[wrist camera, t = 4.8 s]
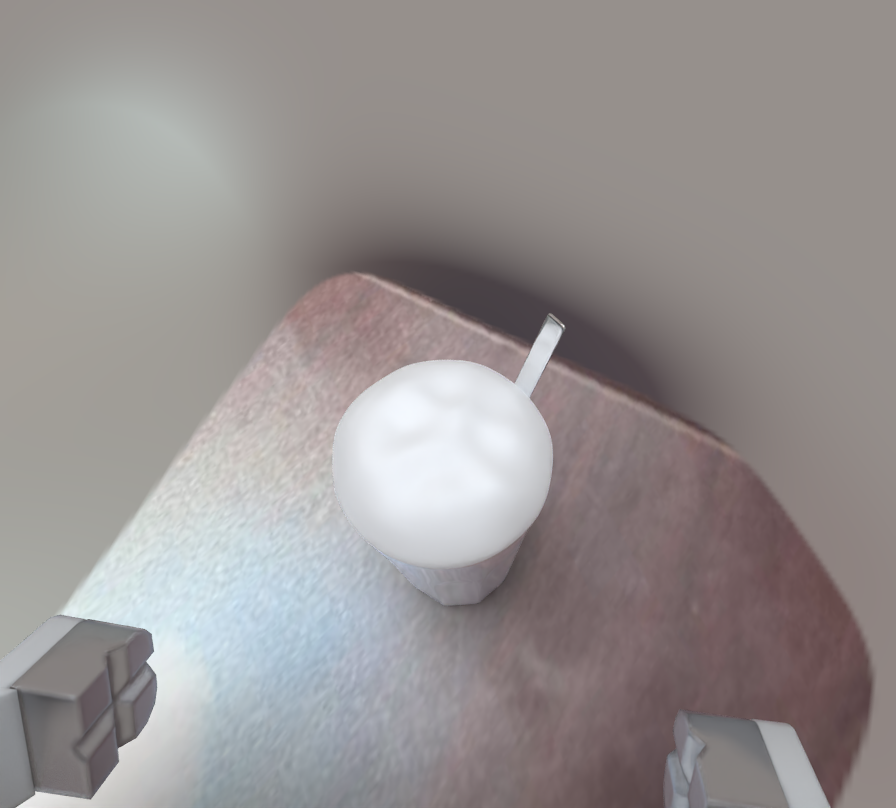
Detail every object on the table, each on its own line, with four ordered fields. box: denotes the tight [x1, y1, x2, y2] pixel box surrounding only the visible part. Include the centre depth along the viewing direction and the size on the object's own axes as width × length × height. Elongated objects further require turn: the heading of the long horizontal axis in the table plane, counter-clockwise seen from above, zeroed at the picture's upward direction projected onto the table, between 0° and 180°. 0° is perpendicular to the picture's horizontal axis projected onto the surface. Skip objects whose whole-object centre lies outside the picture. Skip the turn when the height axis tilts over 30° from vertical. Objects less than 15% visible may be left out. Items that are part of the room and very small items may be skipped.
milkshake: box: [332, 314, 565, 606], centre depth 17 cm, size 4×5×10 cm
